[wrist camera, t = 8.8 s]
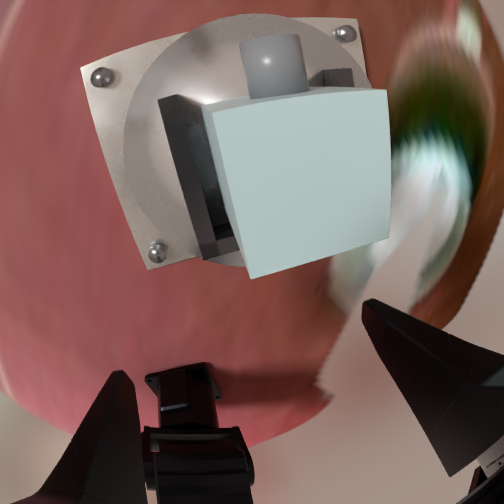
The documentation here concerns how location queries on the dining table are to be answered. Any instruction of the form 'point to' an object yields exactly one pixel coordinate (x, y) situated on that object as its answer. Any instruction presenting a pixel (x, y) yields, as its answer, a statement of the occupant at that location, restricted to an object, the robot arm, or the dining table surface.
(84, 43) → the dining table surface
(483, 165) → the dining table surface
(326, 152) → the block with peg
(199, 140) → the metal mounting base
